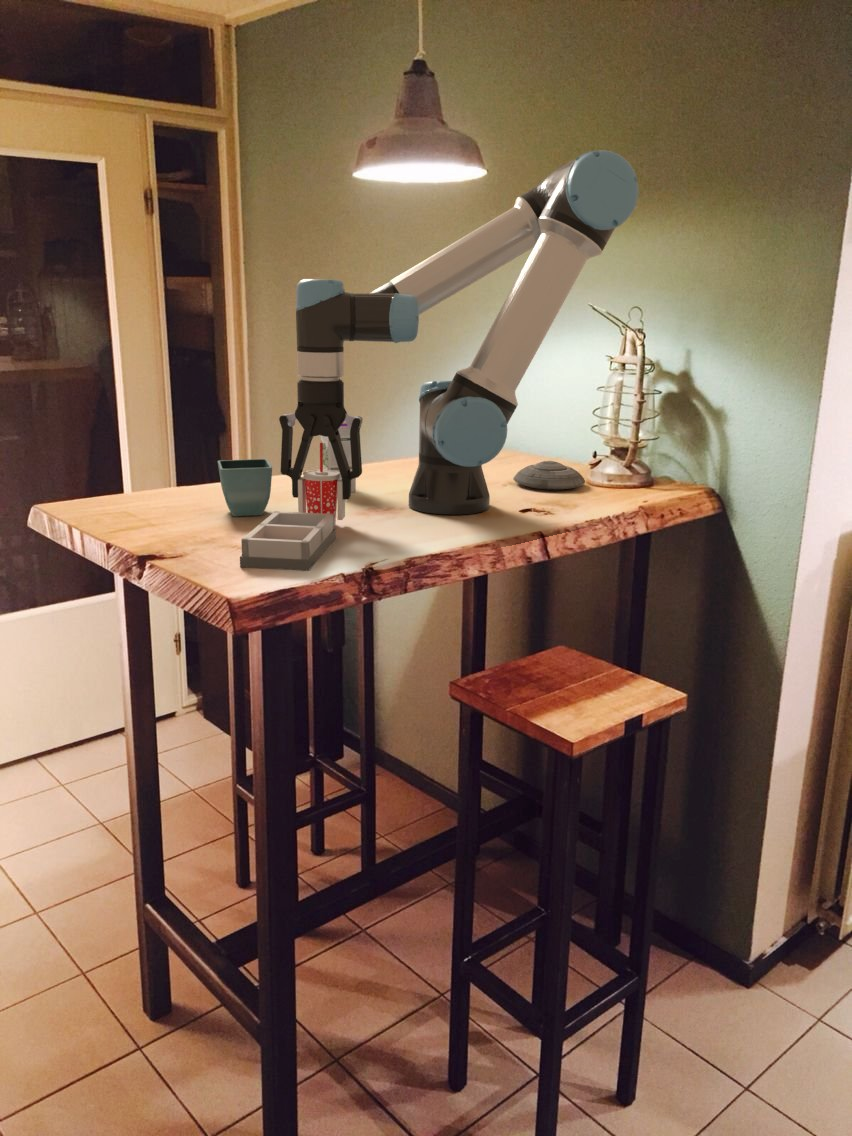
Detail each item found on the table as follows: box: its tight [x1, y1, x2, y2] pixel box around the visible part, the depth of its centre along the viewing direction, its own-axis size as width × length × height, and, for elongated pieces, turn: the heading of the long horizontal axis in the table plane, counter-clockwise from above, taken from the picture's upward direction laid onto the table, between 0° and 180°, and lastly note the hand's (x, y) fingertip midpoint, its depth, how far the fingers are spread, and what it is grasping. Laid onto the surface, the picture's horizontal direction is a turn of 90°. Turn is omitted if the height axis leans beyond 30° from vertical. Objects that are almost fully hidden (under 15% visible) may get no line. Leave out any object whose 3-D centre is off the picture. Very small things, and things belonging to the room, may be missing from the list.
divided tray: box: [239, 510, 337, 571], centre depth 141 cm, size 10×19×4 cm, turn 174°
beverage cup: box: [302, 442, 340, 527], centre depth 157 cm, size 6×6×14 cm
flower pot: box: [217, 458, 273, 517], centre depth 164 cm, size 9×9×9 cm
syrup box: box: [320, 421, 357, 494], centre depth 184 cm, size 6×6×14 cm
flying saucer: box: [513, 460, 586, 491], centre depth 196 cm, size 15×15×6 cm
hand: (321, 517), depth 158 cm, fingers closed on beverage cup, 6 cm apart
